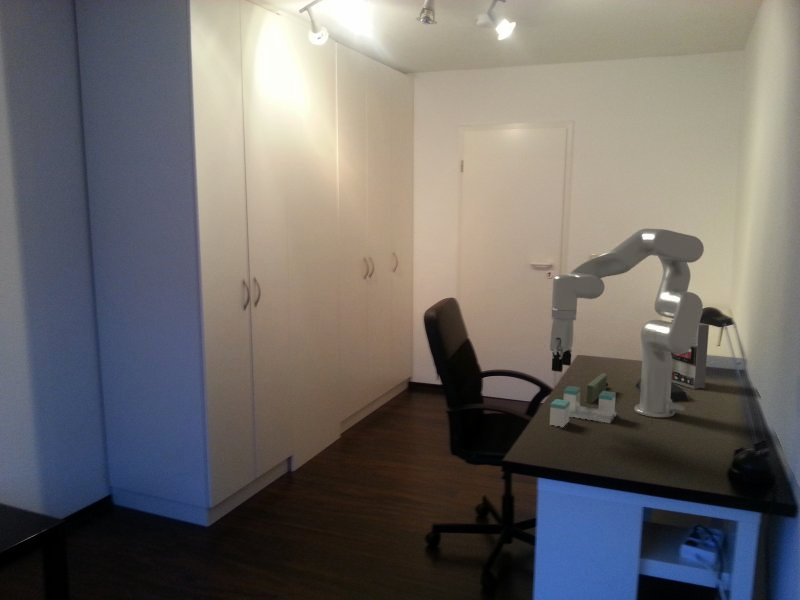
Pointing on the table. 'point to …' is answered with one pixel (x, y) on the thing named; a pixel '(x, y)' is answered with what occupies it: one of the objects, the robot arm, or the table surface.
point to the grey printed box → (692, 361)
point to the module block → (559, 412)
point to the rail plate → (601, 414)
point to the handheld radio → (596, 388)
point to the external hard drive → (672, 392)
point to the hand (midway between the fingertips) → (561, 368)
